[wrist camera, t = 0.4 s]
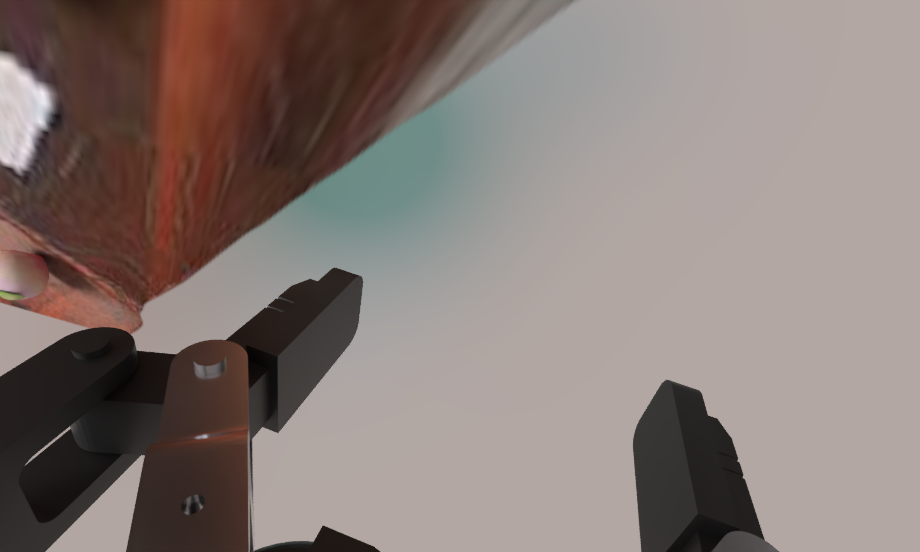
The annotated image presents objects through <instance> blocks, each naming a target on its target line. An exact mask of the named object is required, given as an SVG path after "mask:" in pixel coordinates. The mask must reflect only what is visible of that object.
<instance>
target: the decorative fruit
mask: <svg viewBox="0 0 920 552" xmlns="http://www.w3.org/2000/svg"><path fill="white" fill-rule="evenodd" d="M48 279H49V271H48V267H47V265H46V263H45V261H44V259H43V257H42V256H40V255H33V254H29V253H25V252H20V251H16V250H2V251H0V297H2V298H4V299H7V300H19V299H27V298H31V297H35V296H37V295H38V294H40V293H41V292H42V291H43V290H44V289H45V287H46V285H47V283H48Z"/></svg>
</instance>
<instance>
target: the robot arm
mask: <svg viewBox="0 0 920 552" xmlns="http://www.w3.org/2000/svg"><path fill="white" fill-rule="evenodd" d="M362 287H363V279H362V277H361V276H359V275H356V274H352V273H350V272H346V271H344V270H341V269H338V268H333V269H331V270H330V271H329V272H328V273H327V274H326V275H325V276H323V277H322V278H321V279H320V280H319V281H315V280H312V279H309V280H306V281H303V282H301V283H298V284H295V285H293V286H291V287H290V288H289V289H287V290H286V291H285V292H284V293H283V294H281V295H280V296H279V298H278V299H275V300H274V301H273V302H272V303H270V304H269V305H268V307H267V308H264V309H263V310H262V311H260V312H259V313H258V314H257V315H256V316H254V317H253V318H252V319H251V320H250V321H248V322H247V323H246V324H245V325H243V326H242V327H241V328H240V329H239V330H237V331H236V332H235V333H234V334H233V335H231V336H230V337H229V338H228V339H226V340H208V341H202V342H199V343H196V344H193V345H191V346H189V347H187V348H185V349H183V350H182V351H181V352H179V353H178V354H165V353H155V352H144V351H136V346H135V342H134V339H133V337H132V336H131V335H130V334H129V333H128V332H126V331H124V330H121V329H117V328H110V327H100V328H91V329H86V330H82V331H79V332H76V333H73V334H70V335H68V336H66V337H64V338H62V339H60V340H59V341H57V342H55V343H54V344H52V345H51V346H49V347H47V348H46V349H44V350H42V351H41V352H39V353H38V354H36V355H35V356H33V357H31V358H30V359H28V360H26V361H25V362H23V363H21V364H20V365H18V366H17V367H15V368H13V369H12V370H10V371H9V372H7V373H6V374H4V375H2V376H1V377H0V552H45V551H46V550H47V549H48V548H49V547H50V546H51V545H52V544H53V543H54V542H55V541H56V540H57V539H58V538H59V537H60V536H61V535H62V534H63V533H64V532H65V531H66V530H67V529H68V528H69V527H70V526H71V525H72V524H73V523H74V522H75V521H76V520H77V519H78V518H79V517H80V516H81V515H82V514H83V513H84V512H85V511H86V510H87V509H88V508H89V507H90V506H91V505H92V504H93V503H94V502H95V501H96V500H97V499H98V498H99V497H100V496H101V495H102V494H103V493H104V492H105V491H106V490H107V489H108V488H109V487H110V486H111V485H112V484H113V483H114V482H115V481H116V480H117V479H118V478H119V477H120V476H121V475H122V474H123V473H124V472H125V471H126V470H127V469H128V468H129V467H130V466H131V465H132V464H133V463H134V462H135V461H136V460H137V459H138V458H139V457H140V456H141V455H145V458H144V462H143V468H142V473H141V478H140V483H139V488H138V493H137V499H136V504H135V509H134V514H133V519H132V524H131V530H130V535H129V540H128V545H127V550H126V552H380V551H379V550H377V549H376V548H375V547H373V546H371V545H368V544H366V543H364V542H361V541H359V540H357V539H354V538H352V537H349V536H347V535H344V534H342V533H339V532H337V531H335V530H333V529H330V528H328V527H325V526H322V528H321V530H320V532H319V533H318V535H317V537H316V539H315V541H314V542H309V541H292V542H285V543H279V544H274V545H271V546H267V547H263V548H260V549H258V550H255V543H254V542H255V540H254V508H253V507H254V506H253V453H252V452H253V449H252V438H253V437H254V436H255V435H256V434H257V433H258V431H259V430H260V429H261V428H262V427H264V428H267V429H269V430H272V431H274V432H277V433H278V432H279V431H280V430H281V429H282V428H283V426H284V425H285V424H286V422H287V421H288V420H289V419H290V418H291V416H292V415H293V414H294V413H295V411H296V410H297V409H298V407H299V406H300V405H301V404H302V403H303V401H304V400H305V399H306V398H307V396H308V395H309V394H310V393H311V391H312V390H313V389H314V388H315V387H316V385H317V384H318V383H319V382H320V380H321V379H322V378H323V377H324V375H325V374H326V373H327V372H328V370H329V369H330V368H331V366H332V365H333V364H334V363H335V362H336V360H337V359H338V358H339V357H340V355H341V354H342V353H343V352H344V351H345V349H346V348H347V347H348V345H349V344H350V343H351V341H352V339H353V337H354V335H355V333H356V330H357V327H358V321H359V314H360V305H361V296H362ZM69 426H70V427H71V429H70V430H69V431H67V432H66V433H65V434H64V435H63V436H61V437H60V438H59V439H57V440H56V441H55V442H54V443H53V444H51V445H50V446H49V447H48V448H46V449H45V450H44V451H43V452H42V453H40V454H39V455H38V456H37V457H35V458H34V459H33V460H32V461H30V462H29V463H28V464H27V465H26V466H25V464H26V463H27V462H28V461H29V459H30V458H31V457H32V456H33V455H35V454H36V453H37V452H38V451H40V450H41V449H42V448H43V447H44V446H46V445H47V444H48V443H49V442H51V441H52V440H53V439H54V438H55V437H57V436H58V435H59V434H61V433H62V432H63V431H64V430H66V429H67V428H68V427H69ZM633 452H634V465H635V476H636V489H637V502H638V514H639V526H640V538H641V552H779V551H778V550H777V549H775V548H774V547H773V546H772V545H770V544H769V543H768V542H766V541H765V540H764V537H763V534H762V531H761V528H760V525H759V522H758V519H757V515H756V512H755V509H754V506H753V503H752V500H751V497H750V494H749V491H748V487H747V484H746V481H745V479H743V472H742V469H741V466H740V463H739V462H737V460H738V457H737V454H736V450H735V447H734V445H733V441H732V438H731V437H730V436H729V434H728V433H727V432H726V430H725V429H724V428H723V426H722V425H721V423H720V422H719V421H718V419H717V418H713V417H711V416H708V415H707V411H706V407H705V404H704V400H703V396H702V394H701V392H700V391H699V390H696V389H693V388H690V387H687V386H684V385H681V384H678V383H675V382H672V381H670V380H666V381H664V382H663V383H662V384H661V386H660V387H659V389H658V390H657V392H656V394H655V396H654V397H653V399H652V400H651V402H650V404H649V405H648V407H647V409H646V411H645V412H644V414H643V415H642V417H641V419H640V420H639V422H638V424H637V427H636V430H635V434H634V439H633Z"/></svg>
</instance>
